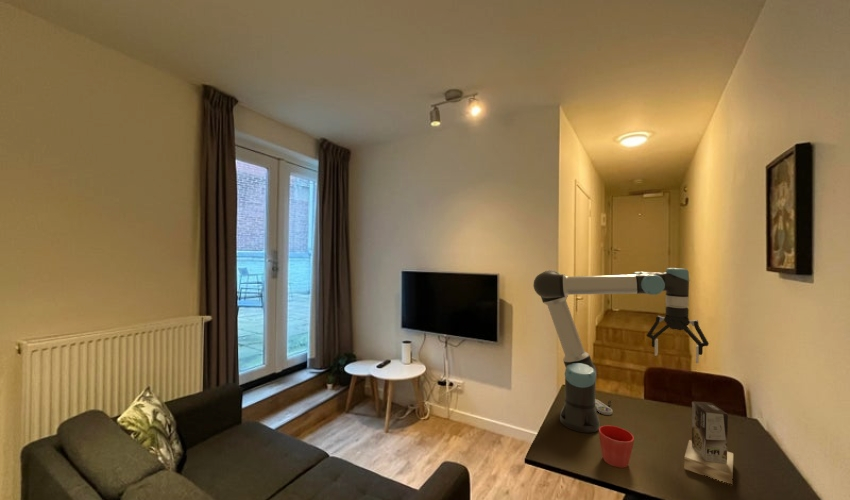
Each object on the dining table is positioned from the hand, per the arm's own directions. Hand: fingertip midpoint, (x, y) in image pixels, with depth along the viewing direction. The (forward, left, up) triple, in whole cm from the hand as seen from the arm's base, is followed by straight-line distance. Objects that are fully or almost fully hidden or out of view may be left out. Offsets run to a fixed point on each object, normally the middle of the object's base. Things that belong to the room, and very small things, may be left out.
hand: (676, 358), depth 142 cm
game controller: (-27, +2, -29) cm, 40 cm away
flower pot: (-12, -40, -29) cm, 51 cm away
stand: (+12, -22, -29) cm, 38 cm away
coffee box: (+12, -22, -25) cm, 35 cm away
